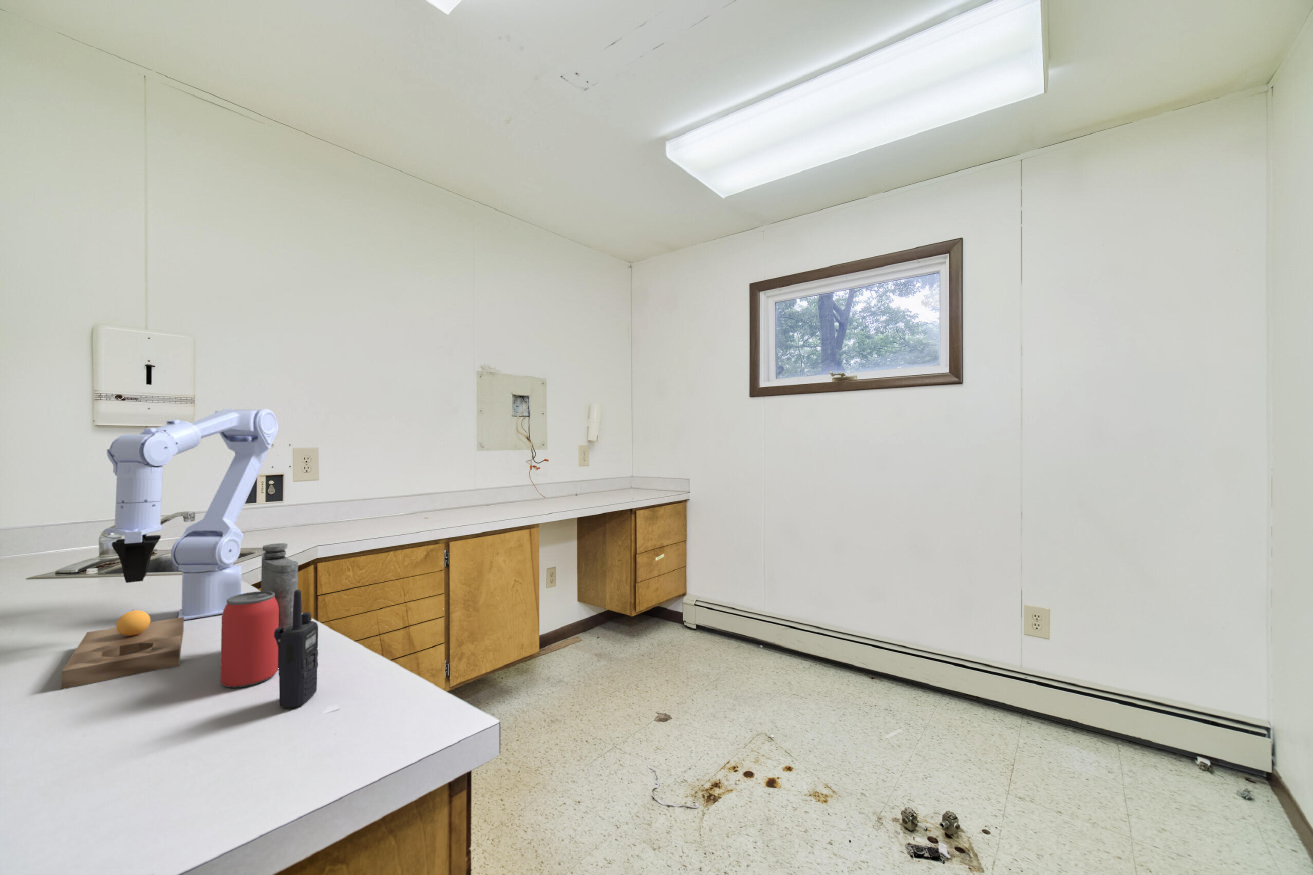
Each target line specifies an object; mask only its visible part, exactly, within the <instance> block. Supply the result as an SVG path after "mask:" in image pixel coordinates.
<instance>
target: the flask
mask: <svg viewBox="0 0 1313 875" xmlns="http://www.w3.org/2000/svg"><path fill="white" fill-rule="evenodd" d="M287 549H288V543H284V542H283V543H271V544H270V543H269V544H265V545H263V546H262V551H263V553H262V554H261V574H260V575H261V576H260V577H261V579H260V580H261V581H260V588H261V589H260V591H270V592H274V593H275V596H274V597H275V599H276V601H277V603H278V607H279V628H284V629H283V630H286V629H287V628H289V627H291V626H293V603H294V592H295V591H296V590H299V589H298V588H299V586H298V585H299V562H298V561H296V560H293V559H291V558H288V557H287V556H286V555H287V551H286V550H287ZM278 668H279V652H278Z"/></svg>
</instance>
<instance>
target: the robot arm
mask: <svg viewBox="0 0 1313 875" xmlns="http://www.w3.org/2000/svg"><path fill="white" fill-rule="evenodd" d="M165 423H166V424H164V425H161V426H158V427H146V428H144V429H143V432H140V433H139V434H138V433H136V434H135V433H134V434H133V433H128V434H123V435H120V436H119V437H117V438H116V439H114V440H113V441H112V442H111V444H110V446H109V449H106V455H107V457H108V460H109V461H110V462H111V464H112V466H113V468H112V469H113V471H112V473H113V474H114V476H116V488H115V510H114V527H107V528H105V529H104V534H115V535H118V536H119V535H120V536H124V538H121V539H117V540H116V541H113V542H112V543H111V547H112V549H113V550H114V551H115V552H116V554H117V557H118V558H119V560H120V565H121V569H122V574H123V578H124V581H125V583H126V584H129V583H136V582H138V583H139V582H143V581H144V579H145V577H146V576H147V573H148V569H149V566H150V562H151V559H152V554H153V552H154V550H155V547H156V545H157V544H158V543H159V542H160V539H161V538H162V536H161V535H160V534H155V535H154V534H152V533H155V532H160V531H162V529H163V525H162V524H161V522H162V521H161V520H162V518H161V517H162V497H163V496H162V495H163V493H162V492H163V491H162V490H163V472H164V471H163V470H164V467H163V466H166V465H168V464H169V463H170V462H171V460H172V459H173V457H174V456H176V455H179V454H181V453H185V452H187V451H190V450H192V449H194V448H196V447H198V446H199V444H200V443H201V440H202V439H204V438H207V437H211V436H214V435H217V434H219V435H220V437H221V439H222V440H223V442H224V443H225V445H226V447H227V449H228V450H230V451H233V453H234V456H233V458H232V460H231V463H230V464H229V467H228V468H227V471H226V473H225V475H224V476H223V479H222V480H221V482H220V484H219V487H218V488H217V490H216V492H215V495H214V497H213V498H212V501H211V503H210V504H209V507H208V508H207V511H206V513H205V514H204V516H203V518H201V519H200V520H199V521H197V522H194V523H193V524H191V525H189V526H187V527H186V528H185V530H184V532H183V534H182V535H181V536H180V537H179V538H178V539H176V541H175V542H174V543H173V545H172V547H171V550H170V559H171V562H172V563H173V564H174V565H175V566H176V567H178V571H179V572H182V575H181V576H182V577H181V580H182V581H181V608H180V609H179V611H178V617H177V618H180V617H184V621H186V620H191V619H198V618H199V619H200V618H206V617H213V616H216V615H217V616H218V615H222V614H223V610H224V608H225V606H226V604H227V599H228V598H230V597H233V596H235V595H239V594H244V592H243V591H242V565H240V564H239V565H238V564H237V565H234V563H235V562H236V561H237V560H238V558H239V557H240V553H241V551H242V550H241V545H242V542H243V539H244V534H243V532H242V530H240V528H239V527H238V526H237V525H236V524H237V521H238V519H239V517H240V514H241V513H242V511H243V508H244V506H245V504H246V502H247V499H248V497H249V495H250V493H251V491H252V489H253V486H254V485H255V482H256V481H257V478H258V476H259V473H260V472H261V469H262V467H263V466H264V464H265V460H266V459H267V456H268V452H269V450H270V449H271V447H272V444H273V442H274V440H275V439H276V435H277V434H278V432H279V429H280V428H279V424H278V420H277V417H276V414H275V413H274V412H273V411H272V410H271V409H268V408H262V409H232V408H224V409H222V410H215V412H214V413H212V414H209V415H207V416H204V417H202V418H200V419H197V420H195V421H193V422H189V421H186V420H180V419H177V418H175V419H173V418H172V419H167V420H166V422H165ZM150 533H151V534H152V535H148V534H150Z"/></svg>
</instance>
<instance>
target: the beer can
mask: <svg viewBox="0 0 1313 875" xmlns="http://www.w3.org/2000/svg"><path fill="white" fill-rule="evenodd" d="M274 596H275V593H274V592H270V591H261V590H260V591H252V592H246V593H244V592H243V594H239V595H235V596H233V597H230V598H228V599H227V604H226V606H225V608H224V610H223V614H221V628H220V629H221V631H220V632H221V633H220V634H221V636H220V637H221V639H220V642H221V644H220V683H221V685H222V686H224V687H226V688H233V689H234V688H235V689H237V688H246V686H247V687H251V686H254V685H258V684H261V683H264V682H266V681H268V680H270V679H271V678H273V677H274V676H275V675H276V674H277V672H279V669H278V645H277V642H276V639H275V638H274V632H275V629H277V628H279V607H278V603H277V601H276V599H275V597H274Z"/></svg>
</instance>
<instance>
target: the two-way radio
mask: <svg viewBox="0 0 1313 875" xmlns="http://www.w3.org/2000/svg"><path fill="white" fill-rule="evenodd" d="M302 598H303V597H302V590H301V589H298V590H296V591H295V592H294V603H293V626H291V627H289V628H287V629H286V630H283V629H284V628H277V629H275V632H274V638H275V639H276V642H277V645H278V652H279V669H278V679H279V680H278V681H279V682H278V684H279V685H278V686H279V688H278V689H279V693H278V694H279V700H278V701H279V706H280V707H283V709H289V708H298V707H301V706H303V705H304V704H305V703H307V702H308V701H309V700H310V699H311V698H312V697H313V696H314V695H315V694H316V692H317V687H318V667H319V662H318V660H319V659H318V658H319V657H318V656H319V649H318V648H319V625H318V623H317V621H313V620H312V614H311V612H310V611H305V612H303V609H302V608H303V602H302Z"/></svg>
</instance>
